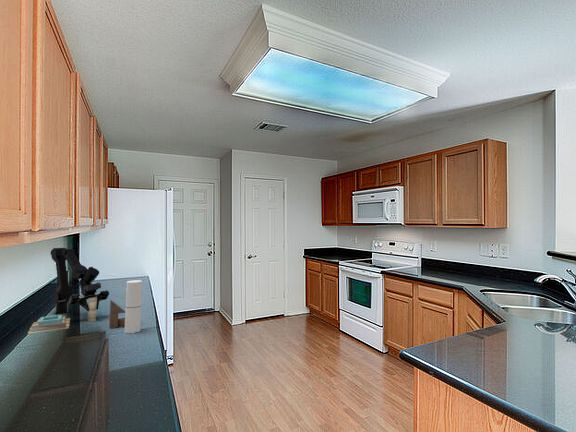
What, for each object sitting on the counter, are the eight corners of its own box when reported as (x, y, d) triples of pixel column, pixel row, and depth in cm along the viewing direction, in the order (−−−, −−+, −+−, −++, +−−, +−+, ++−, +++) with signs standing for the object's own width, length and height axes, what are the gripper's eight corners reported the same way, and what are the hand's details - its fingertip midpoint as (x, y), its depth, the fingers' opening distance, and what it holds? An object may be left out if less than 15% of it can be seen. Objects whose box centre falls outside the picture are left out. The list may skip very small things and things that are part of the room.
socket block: (40, 325, 160) (40, 317, 160) (61, 322, 165) (62, 314, 165) (38, 330, 152) (38, 321, 153) (60, 327, 157) (61, 319, 157)
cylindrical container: (124, 334, 151) (126, 282, 152) (124, 330, 157) (126, 280, 158) (140, 332, 154) (142, 282, 155) (140, 328, 160) (141, 279, 161)
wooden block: (109, 326, 162) (110, 292, 163) (131, 323, 168) (133, 290, 169) (109, 328, 159) (111, 293, 160) (133, 325, 165) (134, 291, 166)
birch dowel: (87, 321, 170) (88, 297, 171) (95, 320, 172) (96, 296, 173) (87, 323, 167) (88, 299, 167) (96, 322, 169) (97, 298, 170)
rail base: (33, 324, 164) (33, 317, 164) (70, 319, 173) (70, 313, 173) (27, 335, 147) (27, 328, 147) (68, 329, 156) (68, 323, 156)
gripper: (71, 280, 166) (77, 304, 158) (108, 276, 180) (116, 298, 173) (65, 292, 170) (71, 316, 163) (102, 288, 185) (109, 310, 178)
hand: (93, 310), depth 169 cm, fingers closed on birch dowel, 4 cm apart
